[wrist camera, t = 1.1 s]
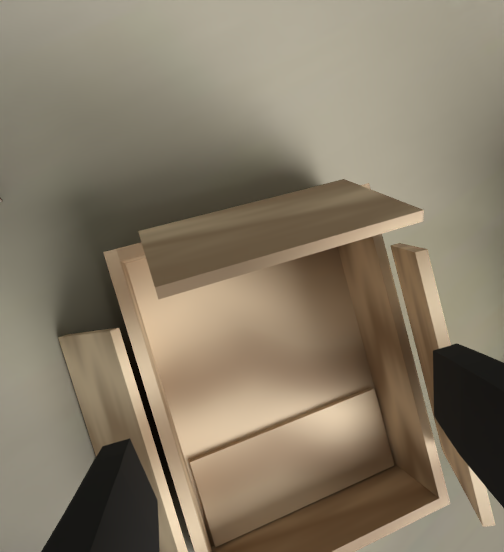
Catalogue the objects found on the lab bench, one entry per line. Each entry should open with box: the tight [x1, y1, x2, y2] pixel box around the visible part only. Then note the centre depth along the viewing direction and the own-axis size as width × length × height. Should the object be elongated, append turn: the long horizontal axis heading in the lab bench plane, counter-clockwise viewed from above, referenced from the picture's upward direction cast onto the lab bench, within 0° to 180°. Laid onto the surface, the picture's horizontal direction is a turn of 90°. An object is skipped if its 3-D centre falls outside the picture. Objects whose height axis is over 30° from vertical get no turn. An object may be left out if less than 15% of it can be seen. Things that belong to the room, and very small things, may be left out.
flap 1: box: [138, 179, 424, 300], centre depth 14 cm, size 1×9×5 cm, turn 104°
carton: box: [58, 183, 450, 552], centre depth 19 cm, size 16×15×4 cm
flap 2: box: [391, 243, 495, 527], centre depth 16 cm, size 10×1×5 cm, turn 16°
